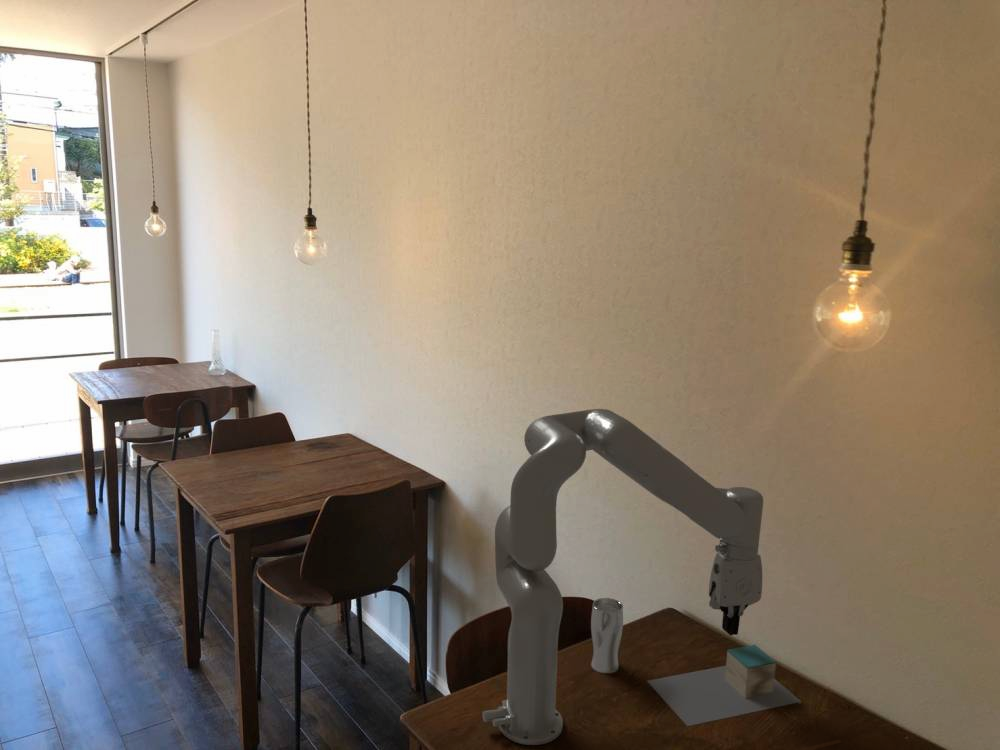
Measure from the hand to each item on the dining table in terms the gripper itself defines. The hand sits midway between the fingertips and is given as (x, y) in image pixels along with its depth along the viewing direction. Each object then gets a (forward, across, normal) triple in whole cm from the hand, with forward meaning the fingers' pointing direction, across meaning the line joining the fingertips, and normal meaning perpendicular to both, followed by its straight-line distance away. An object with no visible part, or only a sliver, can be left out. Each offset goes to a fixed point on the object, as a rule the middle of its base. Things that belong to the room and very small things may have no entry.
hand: (729, 631), depth 160 cm
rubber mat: (+14, 0, 0) cm, 14 cm away
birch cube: (+6, +6, 0) cm, 9 cm away
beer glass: (+15, -20, +16) cm, 29 cm away
